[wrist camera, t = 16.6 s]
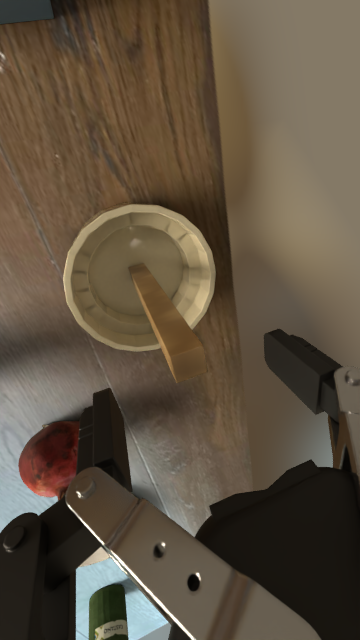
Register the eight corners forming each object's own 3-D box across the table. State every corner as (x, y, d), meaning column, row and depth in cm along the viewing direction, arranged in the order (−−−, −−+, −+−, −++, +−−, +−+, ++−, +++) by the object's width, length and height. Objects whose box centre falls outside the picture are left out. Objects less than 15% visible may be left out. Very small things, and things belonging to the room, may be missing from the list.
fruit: (22, 411, 33) (-4, 488, 24) (99, 401, 36) (101, 467, 27) (32, 459, 37) (13, 541, 28) (101, 447, 39) (103, 517, 31)
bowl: (149, 172, 25) (163, 166, 20) (215, 280, 33) (237, 296, 28) (38, 258, 26) (24, 274, 21) (127, 346, 33) (133, 374, 28)
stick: (143, 262, 28) (203, 345, 13) (147, 277, 29) (208, 372, 14) (128, 267, 28) (169, 356, 13) (132, 282, 29) (176, 383, 13)
